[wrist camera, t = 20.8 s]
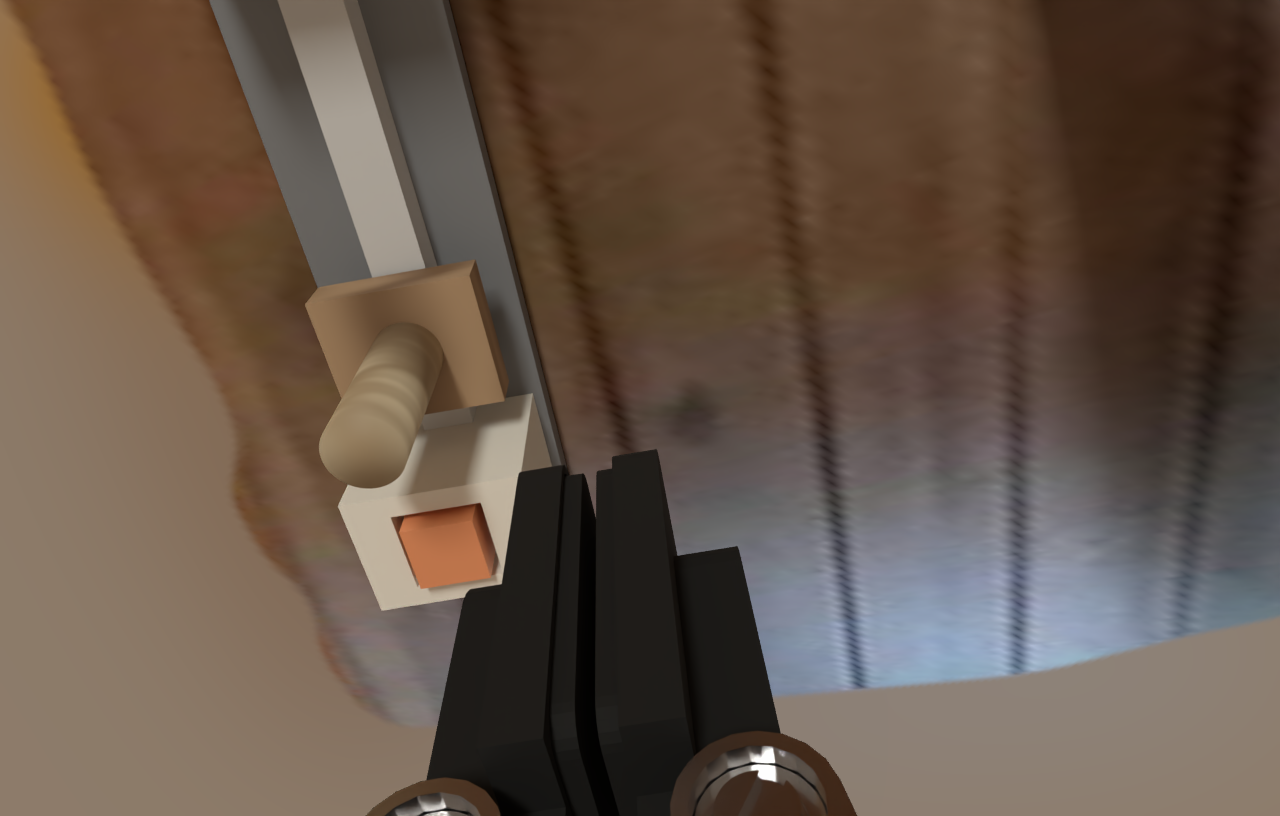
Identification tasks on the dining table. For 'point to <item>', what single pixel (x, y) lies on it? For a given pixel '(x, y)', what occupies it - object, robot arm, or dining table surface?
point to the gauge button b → (449, 545)
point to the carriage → (402, 363)
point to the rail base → (427, 148)
